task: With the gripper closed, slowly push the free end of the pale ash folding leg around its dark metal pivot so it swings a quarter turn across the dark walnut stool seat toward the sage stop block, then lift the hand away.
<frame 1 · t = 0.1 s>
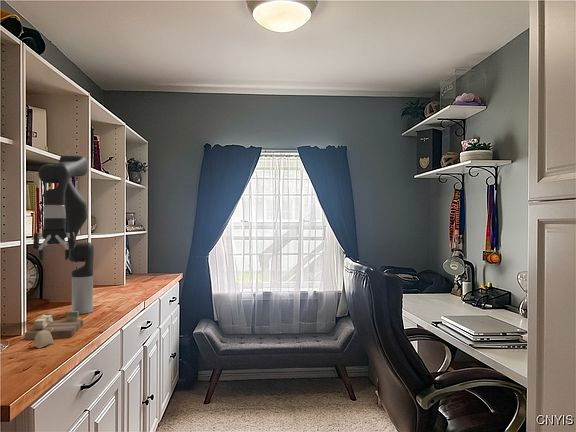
hand: (54, 259, 172), 29 cm above the worktop, tool pointing down, fingers open, 8 cm apart
ash leg: (44, 320, 178), point 4 cm above the worktop, hinge at 0.0°
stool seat: (55, 332, 178), on the worktop
decorative ornament: (44, 345, 160), on the worktop
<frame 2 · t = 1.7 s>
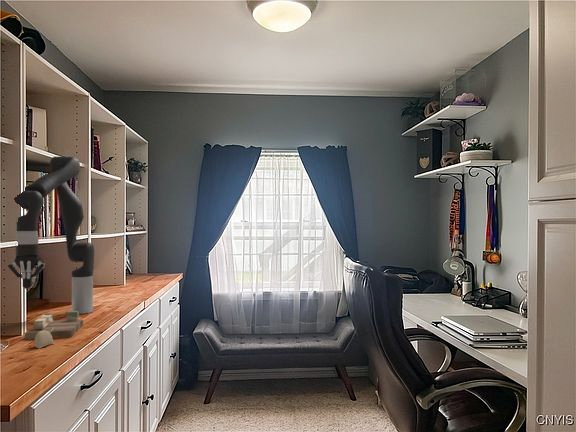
hand: (27, 288, 172), 18 cm above the worktop, tool pointing down, fingers closed
nothing on the worktop moved.
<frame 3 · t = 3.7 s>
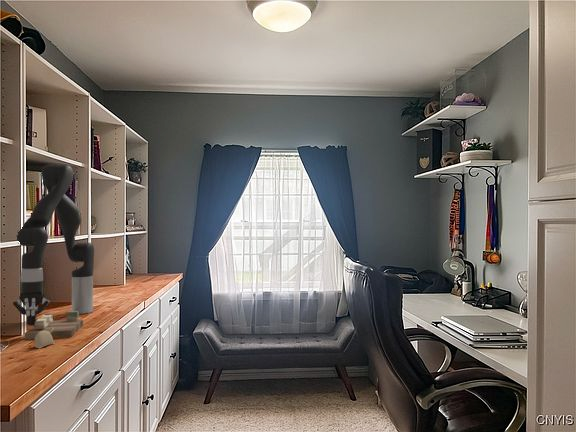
hand: (31, 325, 173), 4 cm above the worktop, tool pointing down, fingers closed
ash leg: (44, 320, 178), point 4 cm above the worktop, hinge at 1.7°, touching gripper
everything else where it was.
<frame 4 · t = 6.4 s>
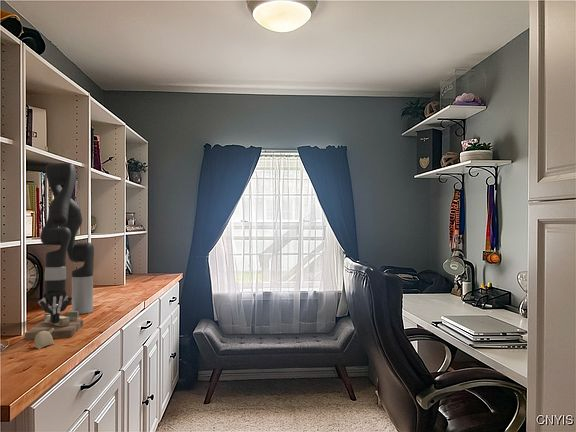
hand: (54, 323, 175), 4 cm above the worktop, tool pointing down, fingers closed
ash leg: (56, 319, 180), point 4 cm above the worktop, hinge at 44.2°, touching gripper
everything else where it was.
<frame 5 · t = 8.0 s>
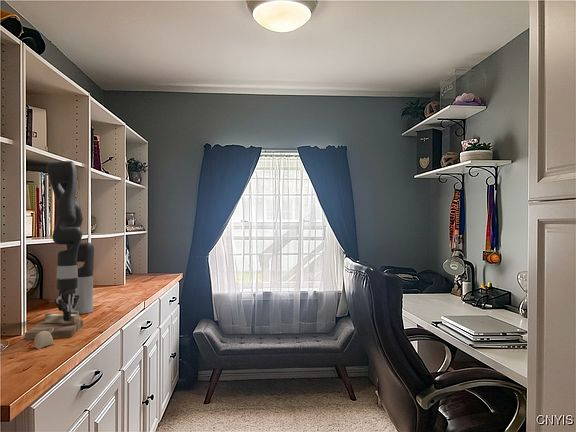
hand: (67, 320, 179), 4 cm above the worktop, tool pointing down, fingers closed
ash leg: (61, 318, 183), point 4 cm above the worktop, hinge at 69.0°, touching gripper
everything else where it was.
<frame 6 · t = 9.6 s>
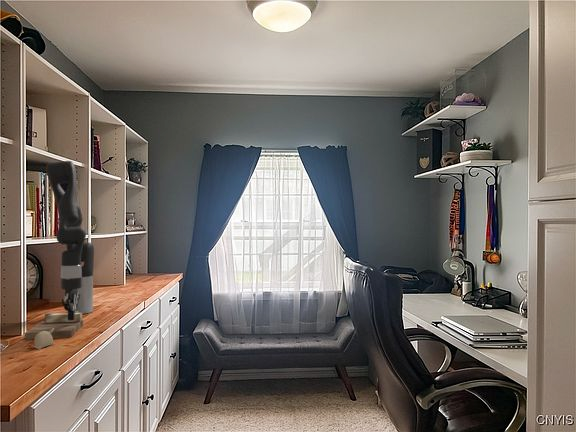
hand: (71, 320, 180), 4 cm above the worktop, tool pointing down, fingers closed
ash leg: (63, 317, 184), point 4 cm above the worktop, hinge at 86.9°
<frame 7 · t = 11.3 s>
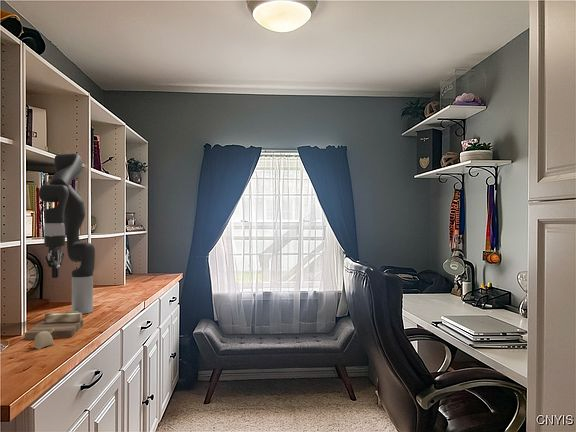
hand: (55, 277, 181), 21 cm above the worktop, tool pointing down, fingers closed
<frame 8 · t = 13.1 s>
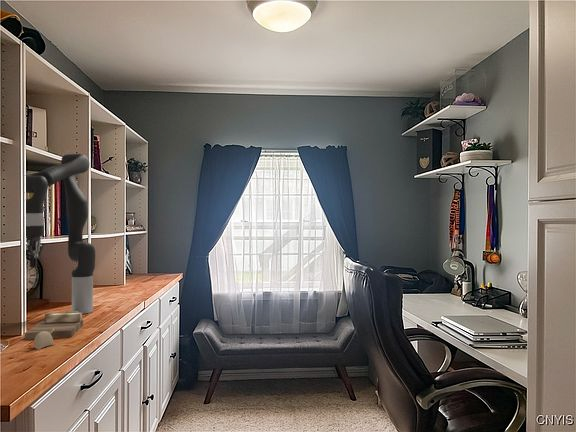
hand: (33, 267, 184), 25 cm above the worktop, tool pointing down, fingers closed
at the end: ash leg at +87° (first picture: +0°) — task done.
